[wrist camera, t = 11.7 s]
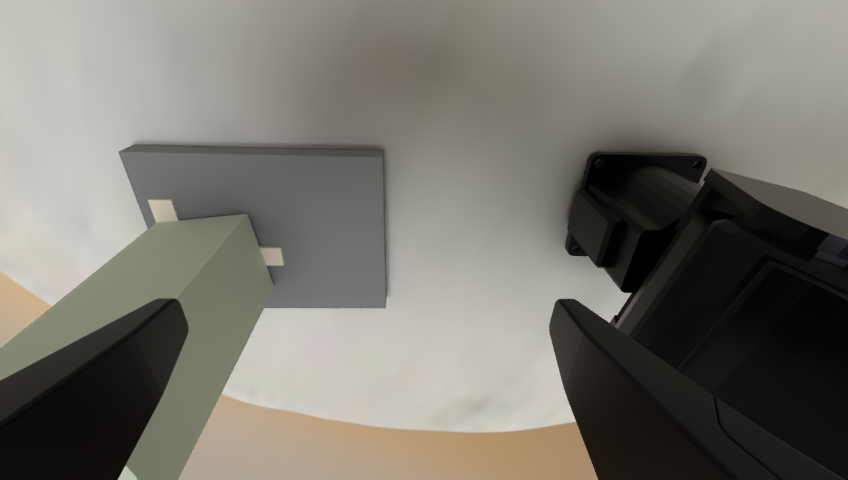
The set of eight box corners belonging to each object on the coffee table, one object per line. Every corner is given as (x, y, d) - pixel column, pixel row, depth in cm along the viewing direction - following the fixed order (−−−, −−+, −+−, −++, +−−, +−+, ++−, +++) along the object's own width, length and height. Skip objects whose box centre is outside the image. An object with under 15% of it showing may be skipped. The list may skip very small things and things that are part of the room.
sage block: (247, 213, 20) (80, 414, 10) (274, 287, 23) (164, 508, 13) (156, 222, 20) (-103, 431, 10) (193, 295, 23) (16, 521, 13)
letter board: (383, 150, 20) (381, 158, 19) (386, 296, 25) (385, 310, 24) (133, 144, 20) (115, 152, 18) (187, 295, 25) (176, 309, 23)
